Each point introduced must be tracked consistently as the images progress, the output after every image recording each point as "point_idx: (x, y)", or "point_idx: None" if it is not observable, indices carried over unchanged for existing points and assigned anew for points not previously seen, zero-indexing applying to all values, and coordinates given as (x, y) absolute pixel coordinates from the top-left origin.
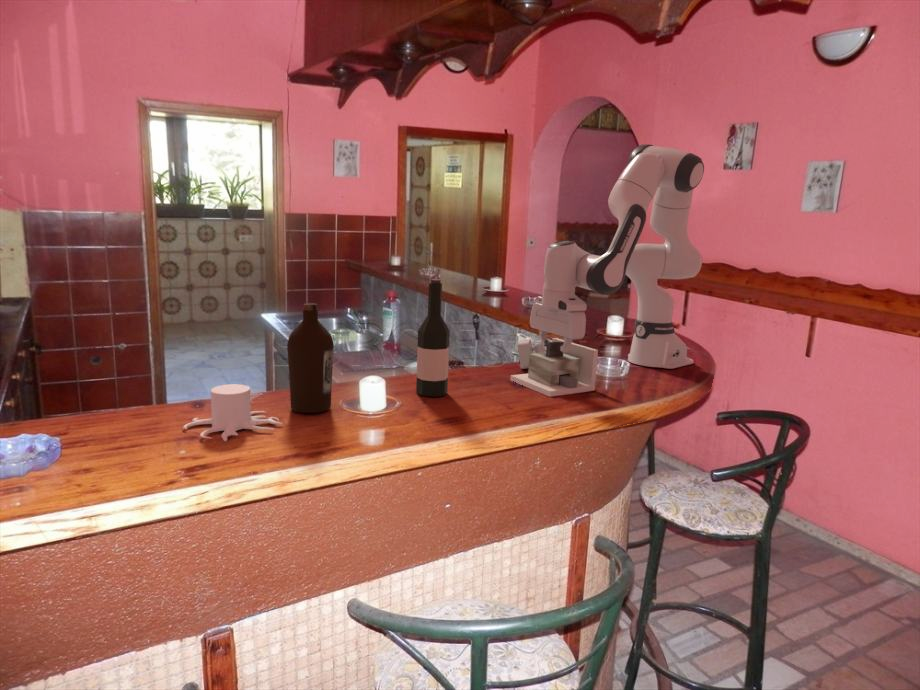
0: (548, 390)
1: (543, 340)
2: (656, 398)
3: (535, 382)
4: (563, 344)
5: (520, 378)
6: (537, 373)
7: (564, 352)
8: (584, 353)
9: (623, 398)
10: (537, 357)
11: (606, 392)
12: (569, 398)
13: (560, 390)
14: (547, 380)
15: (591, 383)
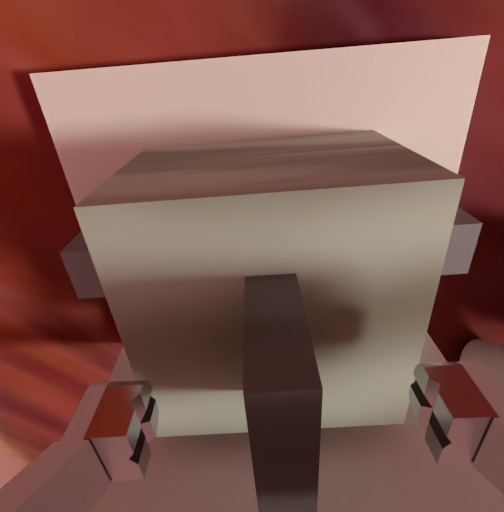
0: (51, 77)
1: (479, 419)
2: (17, 444)
3: (255, 109)
4: (53, 467)
5: (383, 61)
6: (282, 149)
7: (94, 388)
8: (149, 492)
9: (17, 370)
10: (316, 186)
11: (104, 363)
12: (15, 171)
13: (63, 164)
14: (167, 153)
15: (122, 352)
